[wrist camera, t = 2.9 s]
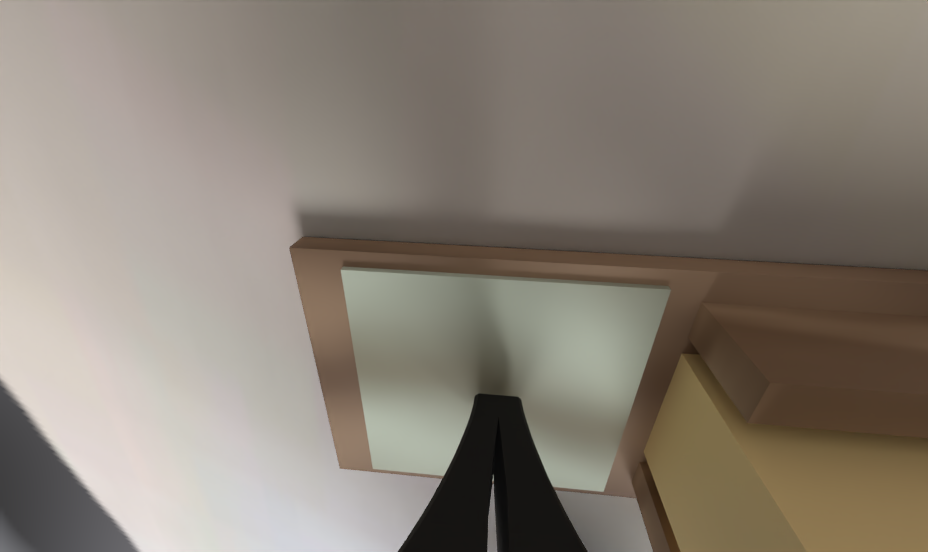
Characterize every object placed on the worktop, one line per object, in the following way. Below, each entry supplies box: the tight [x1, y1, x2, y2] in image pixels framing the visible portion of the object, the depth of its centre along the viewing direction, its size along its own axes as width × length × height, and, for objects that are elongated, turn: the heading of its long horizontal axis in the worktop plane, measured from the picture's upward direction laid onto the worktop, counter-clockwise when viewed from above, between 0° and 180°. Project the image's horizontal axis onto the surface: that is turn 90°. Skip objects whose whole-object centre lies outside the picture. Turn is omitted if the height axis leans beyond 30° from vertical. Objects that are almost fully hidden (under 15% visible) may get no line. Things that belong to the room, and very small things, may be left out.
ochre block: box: [644, 353, 928, 552], centre depth 9 cm, size 4×7×6 cm, turn 89°
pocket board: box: [289, 237, 928, 552], centre depth 11 cm, size 10×28×4 cm, turn 89°
